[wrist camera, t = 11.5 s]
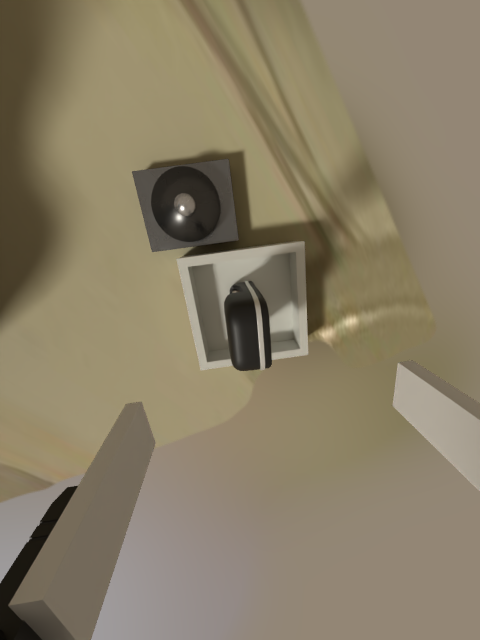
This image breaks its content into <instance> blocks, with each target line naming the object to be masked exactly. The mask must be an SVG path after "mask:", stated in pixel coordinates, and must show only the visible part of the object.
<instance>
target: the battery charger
mask: <svg viewBox="0 0 480 640" xmlns="http://www.w3.org/2000/svg"><path fill="white" fill-rule="evenodd" d="M224 313H225V321H226V329H227V337H228V344H229V352H230V358H231V362H232V365H233V366H234V368H236V369H237V370H240V371H249V370H257V369H260V370H265V368H269V367H271V365H272V353H271V335H270V320H269V311H268V306H267V303H266V300H265V299H264V297H263V295H262V294H261V292H260V291H259V290H258V289H257V288H256V286H255V285H254V283H253V282H252V281H245V282H239V283H236V284H234V285H232V286H231V288H230V294H229V295H227V297H226V299H225V301H224Z"/></svg>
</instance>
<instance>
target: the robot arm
mask: <svg viewBox="0 0 480 640" xmlns="http://www.w3.org/2000/svg"><path fill="white" fill-rule="evenodd" d="M393 407H395V409H396V410H398V411H399V413H401V414H402V415H403V416H404V417H405V418H406V419H407V420H408V421H409V422H410V423H411V424H412V425H413V426H414V427H415V428H416V429H417V430H418V431H419V432H420V433H421V434H422V435H423V436H424V437H425V438H426V439H427V440H428V441H429V442H430V443H431V444H432V445H433V446H434V447H435V448H436V449H437V450H438V451H439V452H440V453H441V454H442V455H443V456H444V457H445V458H447V460H448V461H449V462H450V463H451V464H452V465H454V466H455V467H456V468H457V470H458V471H460V472H461V473H462V474H463V475H464V476H465V477H466V478H467V479H468V480H469V481H470V482H471V483H472V484H473V485H474V486H475V487H476V488H477V489H478V490H479V491H480V403H479V402H477V401H476V400H474V399H472V398H471V397H469V396H468V395H466V394H465V393H463V392H461V391H460V390H458V389H457V388H455V387H454V386H452V385H451V384H449V383H447V382H446V381H444V380H443V379H441V378H440V377H438V376H436V375H435V374H433V373H432V372H430V371H429V370H427V369H426V368H424V367H422V366H421V365H419V364H418V363H416V362H415V361H413V360H411V361H405V362H398V367H397V375H396V383H395V391H394V399H393ZM154 446H155V440H154V437H153V434H152V431H151V428H150V425H149V422H148V419H147V416H146V413H145V410H144V407H143V404H142V402H136V403H129V404H126V405H125V407H124V409H123V410H122V412H121V414H120V415H119V417H118V419H117V420H116V422H115V424H114V426H113V427H112V429H111V431H110V432H109V434H108V436H107V438H106V439H105V441H104V443H103V444H102V446H101V448H100V450H99V451H98V453H97V455H96V456H95V458H94V460H93V462H92V463H91V465H90V467H89V468H88V470H87V472H86V473H85V475H84V477H83V479H82V481H81V482H80V484H79V485H78V486H74V487H68V488H66V489H65V491H64V492H63V493H62V494H61V495H60V496H59V497H58V498H57V499H56V500H55V501H54V502H53V503H52V504H51V506H50V507H49V509H48V510H47V512H46V514H45V515H44V517H43V518H42V520H41V521H40V525H39V526H37V527H36V529H35V531H34V532H33V534H32V535H31V537H30V540H29V542H27V543H26V545H25V546H24V548H23V549H22V551H21V552H20V554H19V555H18V557H17V558H16V560H15V561H14V563H13V565H12V566H11V568H10V569H9V571H8V572H7V574H6V575H5V577H4V579H3V580H2V582H1V583H0V640H91V638H92V634H93V632H94V629H95V625H96V623H97V620H98V617H99V613H100V611H101V607H102V604H103V601H104V598H105V595H106V592H107V589H108V586H109V583H110V580H111V577H112V574H113V571H114V568H115V565H116V562H117V559H118V556H119V553H120V550H121V546H122V543H123V541H124V538H125V535H126V531H127V528H128V525H129V522H130V519H131V516H132V513H133V510H134V507H135V504H136V501H137V498H138V495H139V492H140V489H141V485H142V483H143V479H144V477H145V474H146V471H147V467H148V465H149V462H150V458H151V456H152V452H153V449H154Z"/></svg>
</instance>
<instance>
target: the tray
mask: <svg viewBox="0 0 480 640" xmlns="http://www.w3.org/2000/svg"><path fill="white" fill-rule="evenodd" d="M177 263H178V268H179V272H180V277H181V282H182V286H183V291H184V295H185V300H186V305H187V309H188V314H189V319H190V323H191V328H192V332H193V337H194V342H195V346H196V351H197V355H198V360H199V365H200V369H201V370H206V369H213V368H220V367H227V366H233V365H232V362H231V358H230V352H229V344H228V337H227V329H226V321H225V313H224V301H225V299H226V297H227V295H229V294H230V288H231V286H232V285H234V284H236V283H239V282H245V281H252V282H253V283H254V285H255V286H256V288H257V289H258V290H259V291H260V292H261V294H262V295H263V297H264V299H265V300H266V303H267V306H268V311H269V320H270V335H271V353H272V360H275V359H282V358H289V357H296V356H303V355H308V334H307V302H306V269H305V241H290V242H283V243H276V244H268V245H261V246H254V247H247V248H239V249H232V250H225V251H218V252H210V253H203V254H196V255H189V256H182V257H180V258H177Z"/></svg>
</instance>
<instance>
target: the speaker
mask: <svg viewBox="0 0 480 640" xmlns="http://www.w3.org/2000/svg"><path fill="white" fill-rule="evenodd" d="M132 174H133V178H134V182H135V186H136V190H137V194H138V198H139V202H140V206H141V210H142V214H143V218H144V222H145V226H146V230H147V234H148V238H149V242H150V246H151V250H152V252H156V251H164V250H171V249H178V248H186V247H193V246H200V245H207V244H215V243H222V242H229V241H236V240H239V239H238V231H237V223H236V215H235V207H234V199H233V191H232V183H231V175H230V167H229V159H223V160H215V161H208V162H200V163H192V164H185V165H177V166H170V167H162V168H155V169H147V170H140V171H132Z"/></svg>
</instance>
